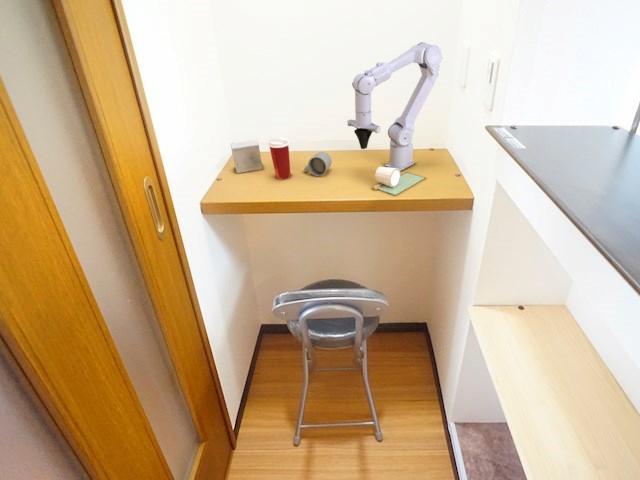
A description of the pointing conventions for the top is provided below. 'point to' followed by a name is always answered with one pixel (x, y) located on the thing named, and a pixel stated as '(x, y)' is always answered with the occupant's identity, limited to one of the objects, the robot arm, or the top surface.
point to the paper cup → (280, 157)
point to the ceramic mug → (319, 164)
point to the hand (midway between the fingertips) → (363, 148)
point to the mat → (402, 184)
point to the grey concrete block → (246, 156)
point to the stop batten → (378, 186)
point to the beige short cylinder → (388, 176)
